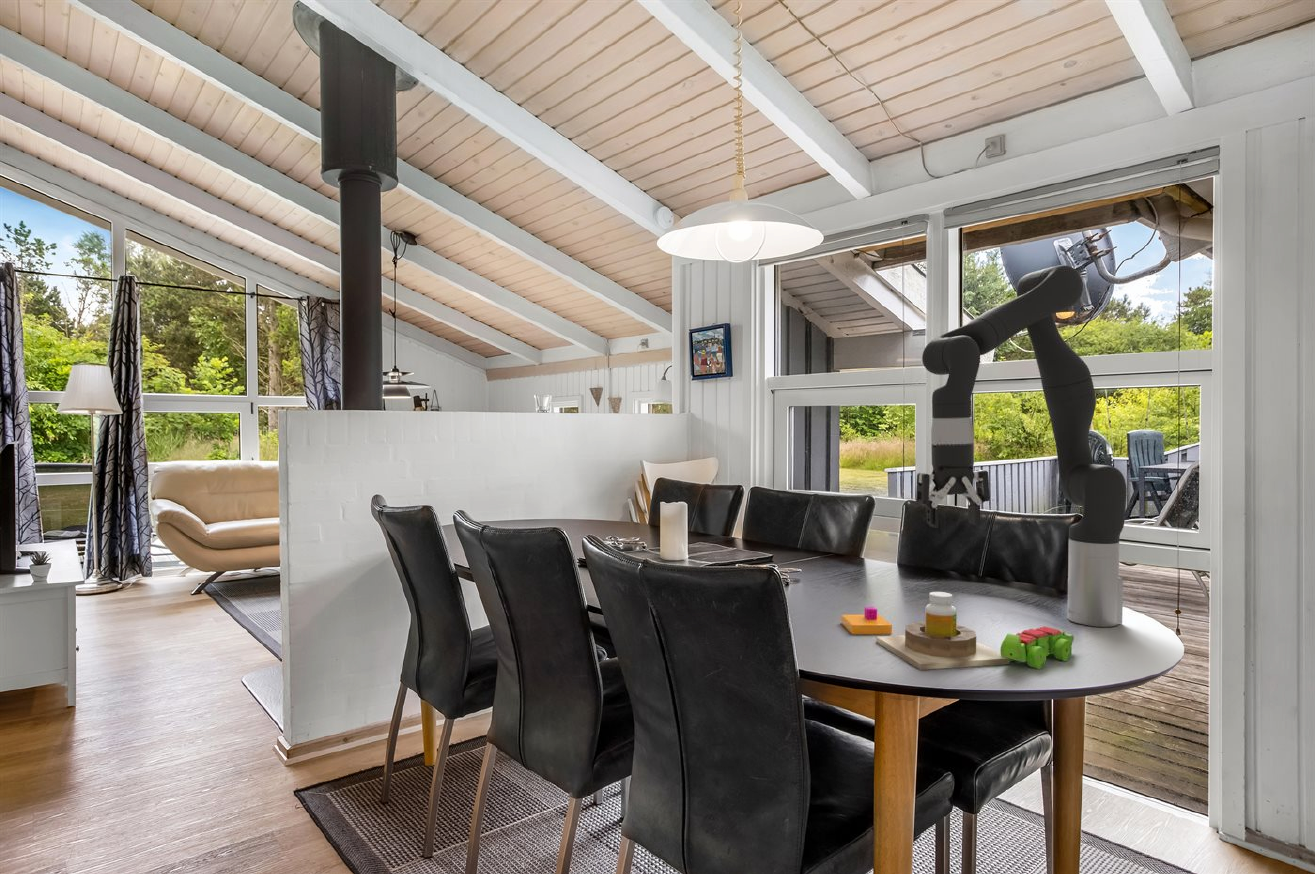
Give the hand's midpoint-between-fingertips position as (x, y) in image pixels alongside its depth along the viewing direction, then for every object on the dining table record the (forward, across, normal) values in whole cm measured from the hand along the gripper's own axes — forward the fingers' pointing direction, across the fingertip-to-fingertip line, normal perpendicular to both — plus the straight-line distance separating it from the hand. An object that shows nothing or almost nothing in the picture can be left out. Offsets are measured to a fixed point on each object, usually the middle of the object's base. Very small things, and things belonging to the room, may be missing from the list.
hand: (953, 525), depth 143 cm
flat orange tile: (+23, +13, -11) cm, 28 cm away
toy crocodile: (+23, -8, +13) cm, 27 cm away
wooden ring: (+21, +7, +6) cm, 23 cm away
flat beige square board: (+22, +7, +6) cm, 24 cm away
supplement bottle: (+21, +7, +6) cm, 23 cm away
